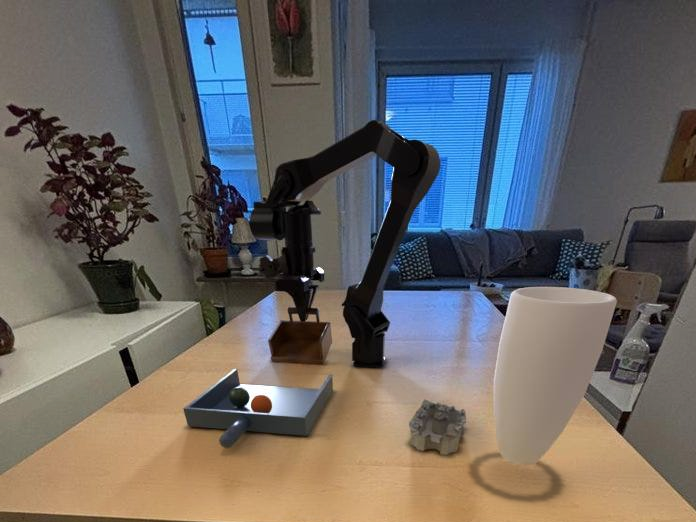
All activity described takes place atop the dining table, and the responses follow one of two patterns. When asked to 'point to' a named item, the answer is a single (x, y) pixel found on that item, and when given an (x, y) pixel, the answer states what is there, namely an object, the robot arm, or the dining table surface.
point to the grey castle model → (437, 427)
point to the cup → (545, 365)
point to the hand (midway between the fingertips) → (303, 320)
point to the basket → (301, 340)
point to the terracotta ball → (261, 404)
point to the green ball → (239, 396)
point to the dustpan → (284, 418)
